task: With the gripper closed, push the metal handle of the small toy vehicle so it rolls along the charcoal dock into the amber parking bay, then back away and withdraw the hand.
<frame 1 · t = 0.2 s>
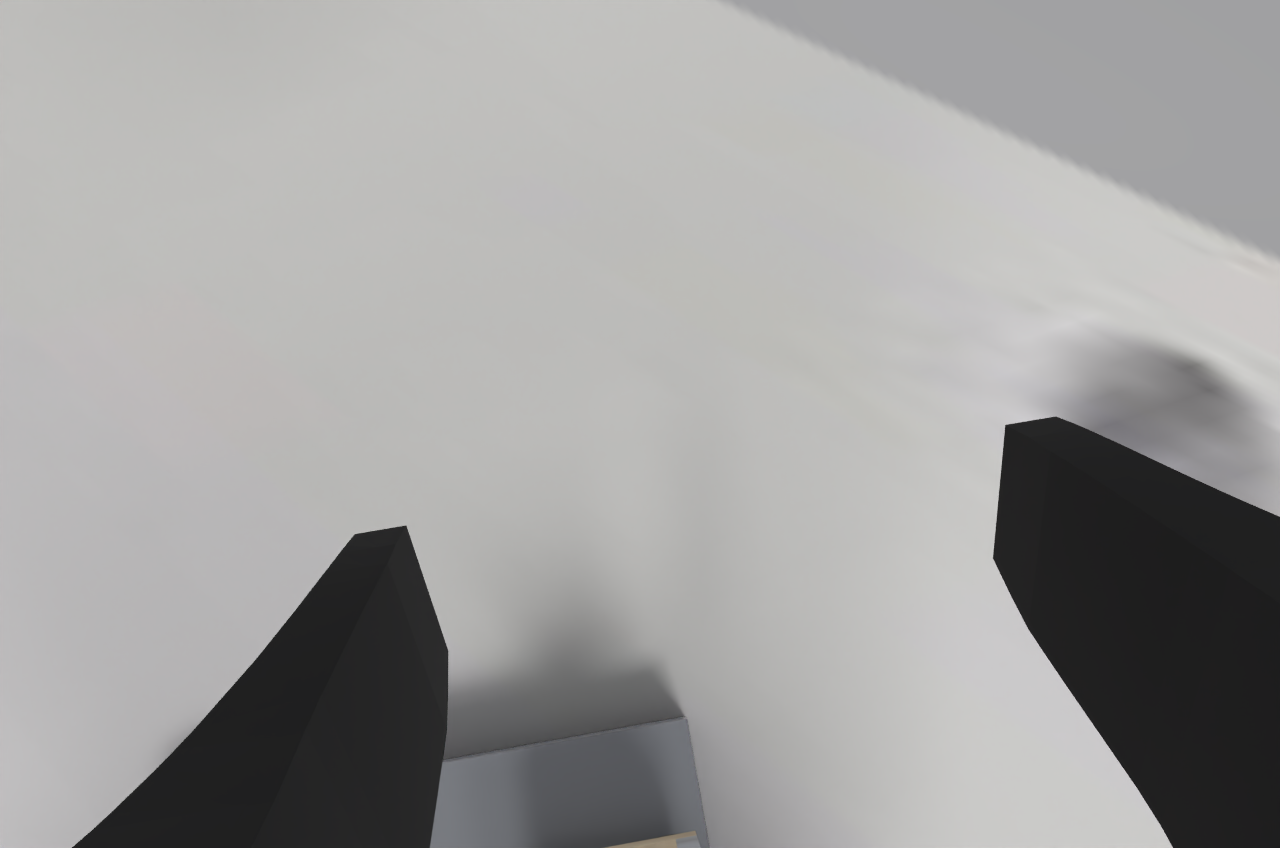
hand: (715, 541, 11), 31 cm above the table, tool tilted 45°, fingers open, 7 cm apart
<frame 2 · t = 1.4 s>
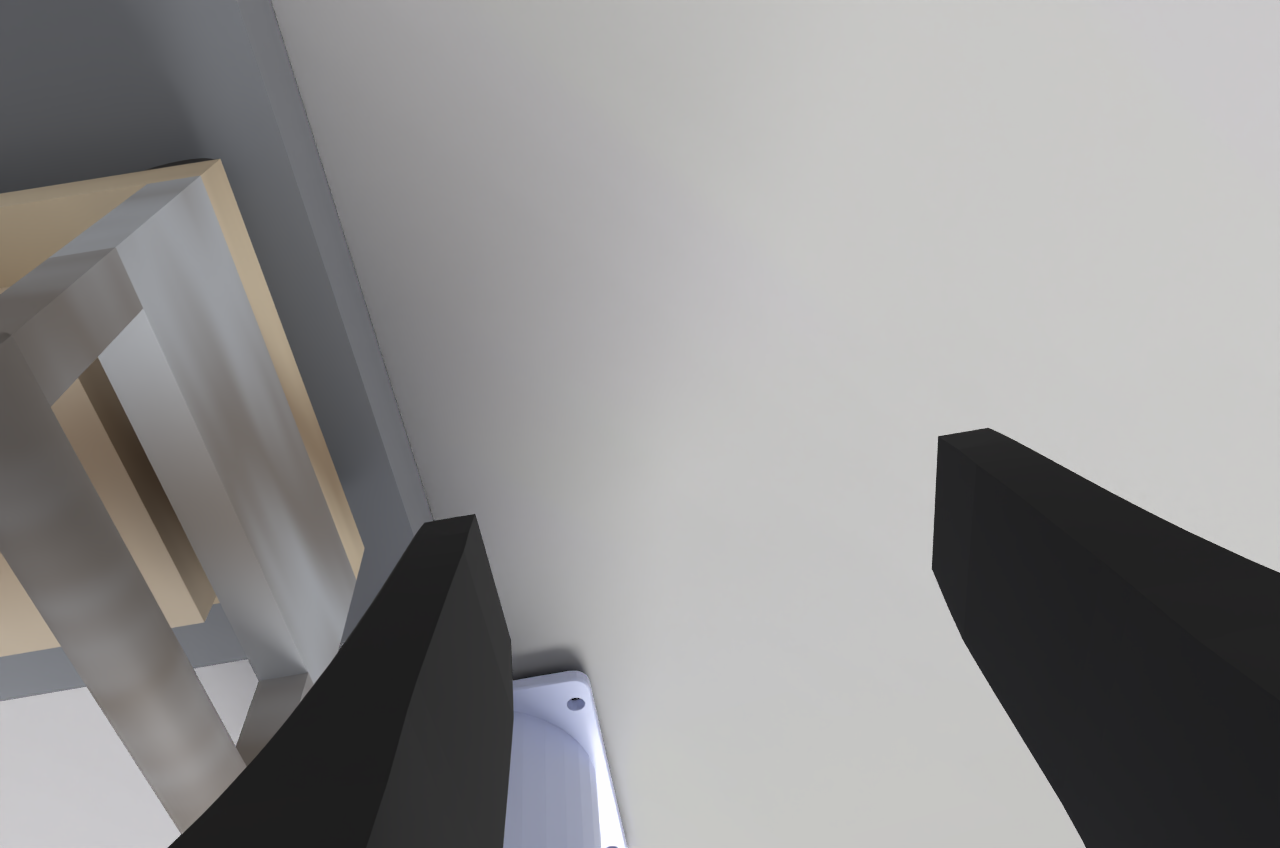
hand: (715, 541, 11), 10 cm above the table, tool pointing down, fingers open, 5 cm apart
toy vehicle: (32, 507, 14), point 7 cm above the table, slide at 0.0 cm
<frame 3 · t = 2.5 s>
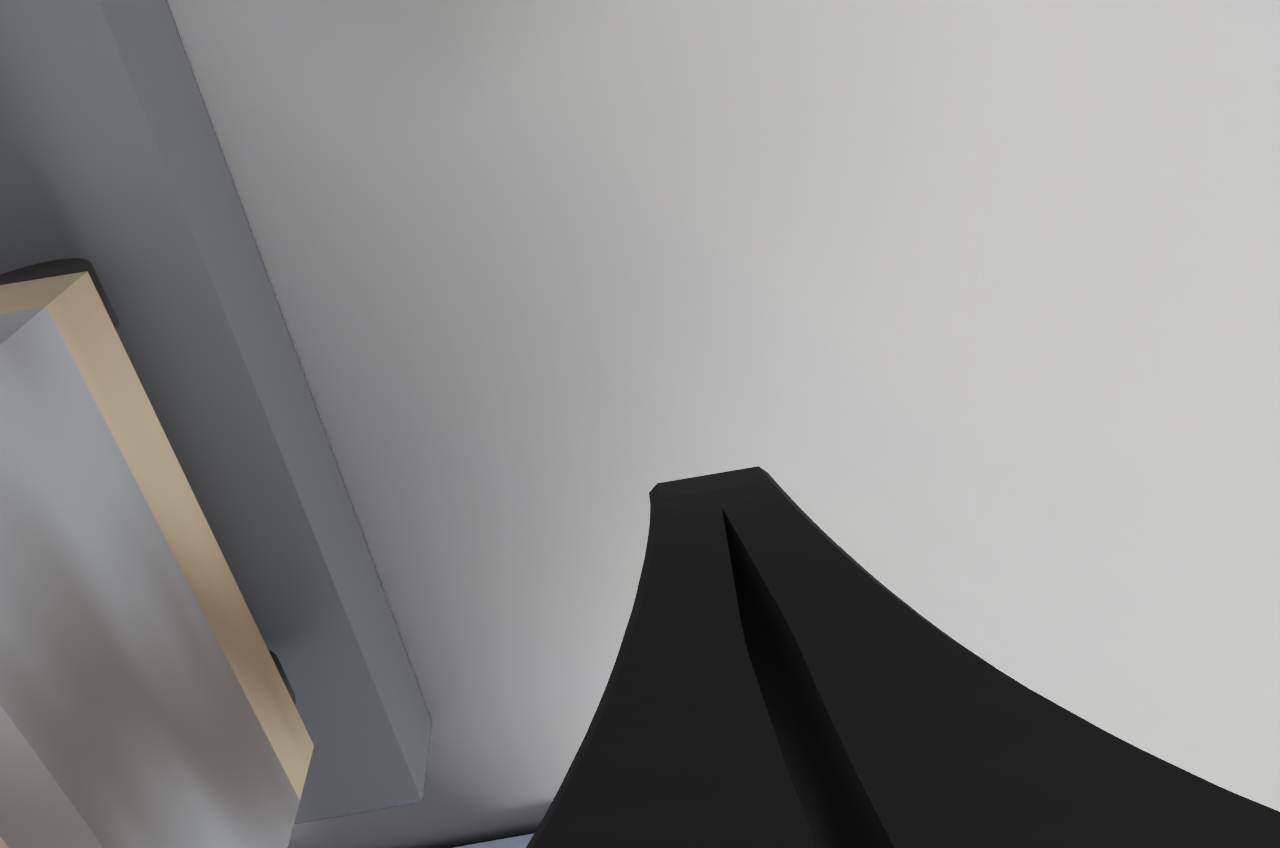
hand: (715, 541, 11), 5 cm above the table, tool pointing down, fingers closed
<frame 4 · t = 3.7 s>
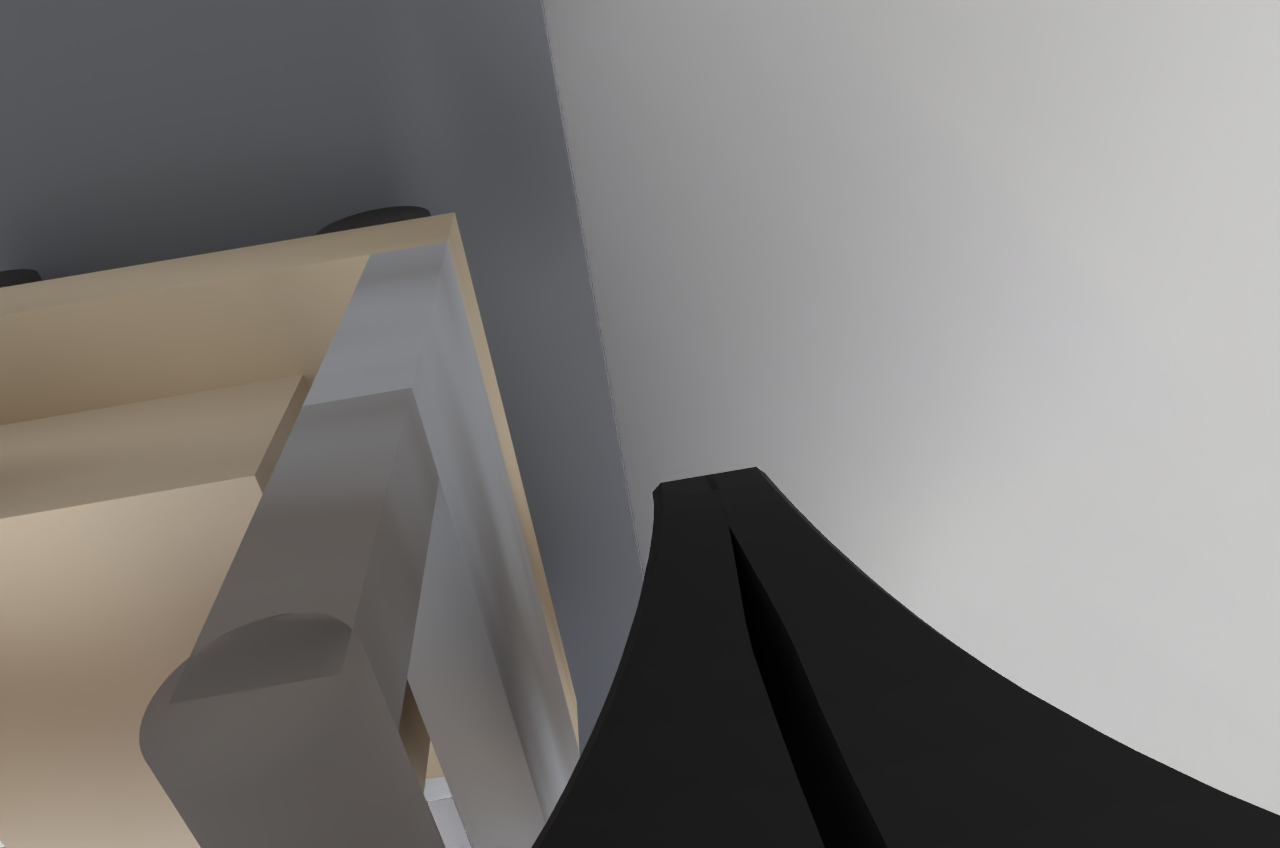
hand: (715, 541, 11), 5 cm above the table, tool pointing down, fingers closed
toy vehicle: (202, 719, 10), point 7 cm above the table, slide at 0.9 cm, touching gripper
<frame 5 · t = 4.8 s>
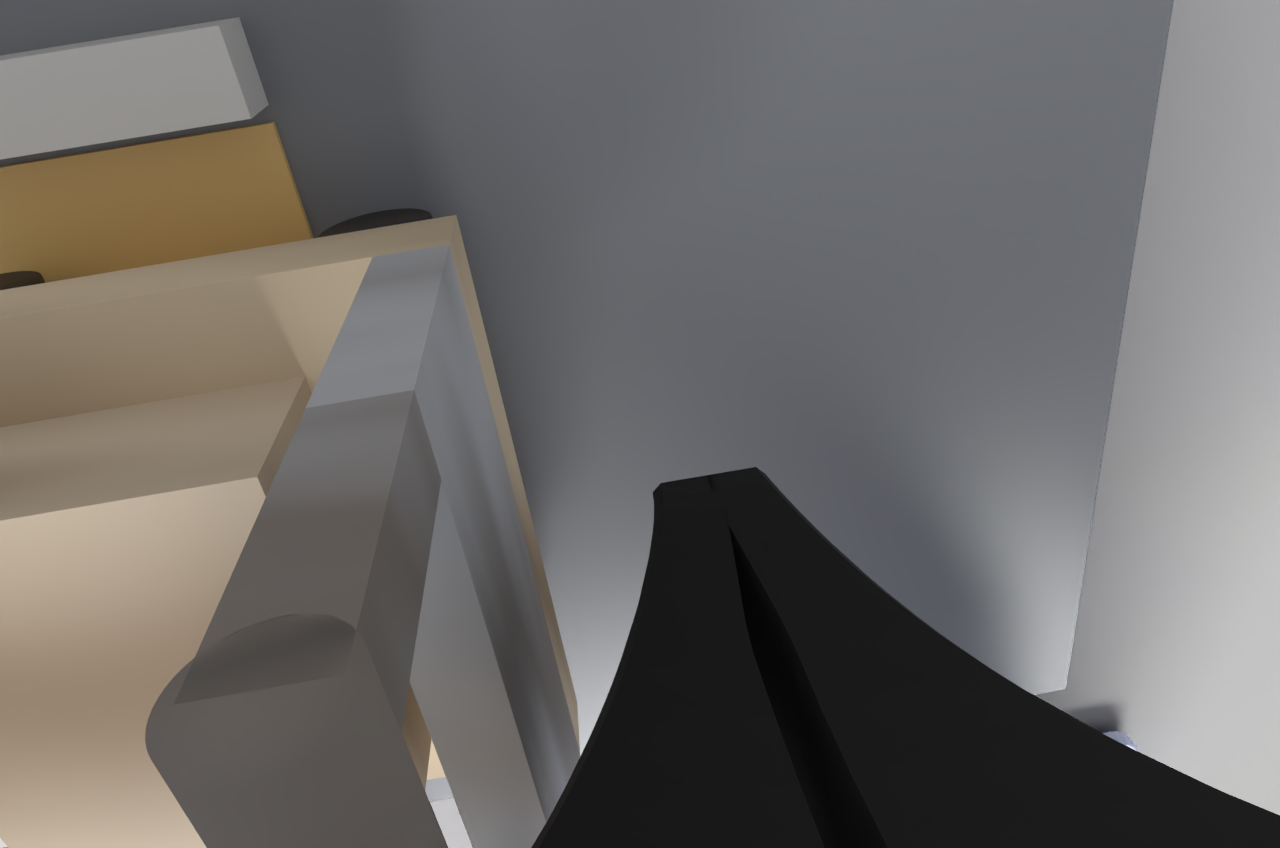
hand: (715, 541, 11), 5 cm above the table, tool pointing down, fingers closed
toy vehicle: (204, 719, 10), point 7 cm above the table, slide at 8.8 cm, touching gripper
dock: (432, 388, 15), on the table
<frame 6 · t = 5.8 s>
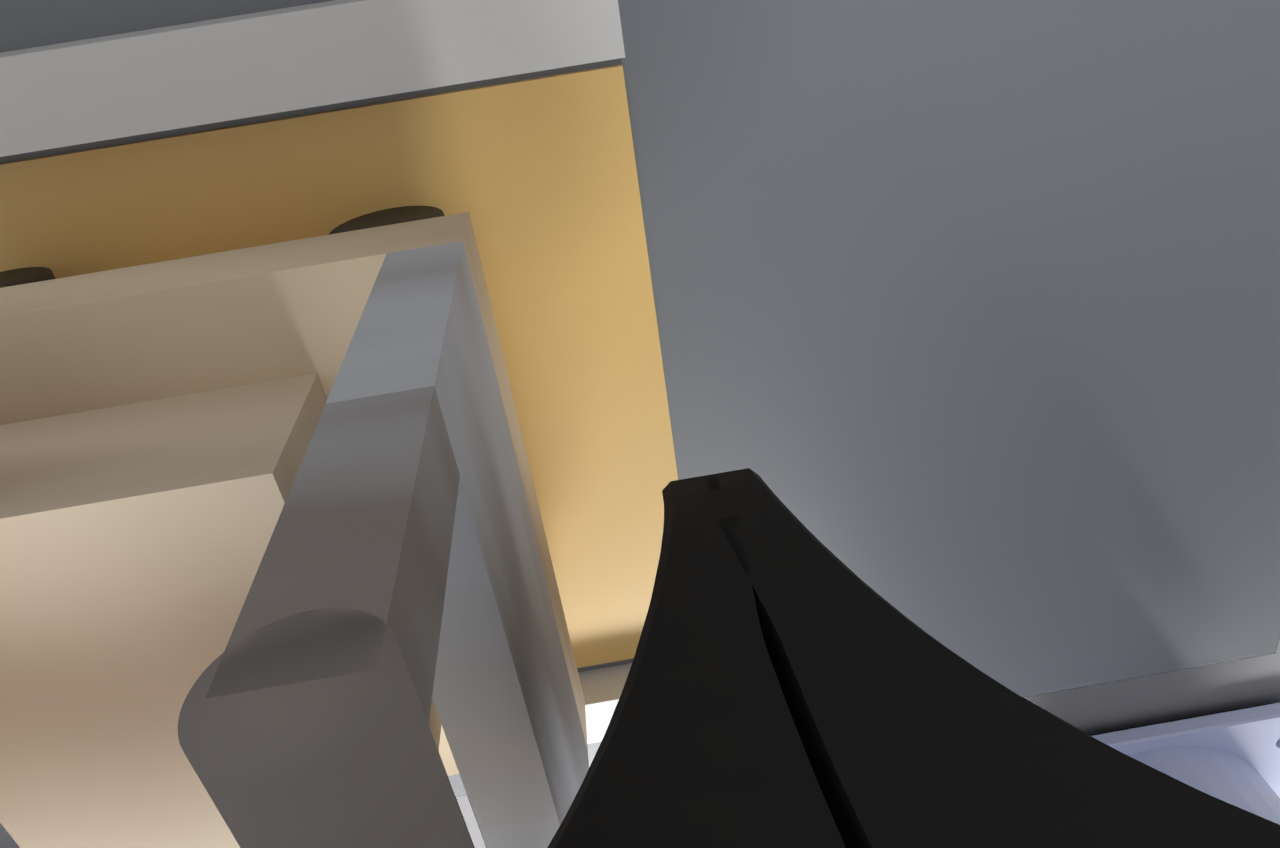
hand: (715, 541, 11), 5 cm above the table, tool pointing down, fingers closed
toy vehicle: (215, 716, 10), point 7 cm above the table, slide at 13.0 cm, touching gripper
dock: (681, 346, 16), on the table
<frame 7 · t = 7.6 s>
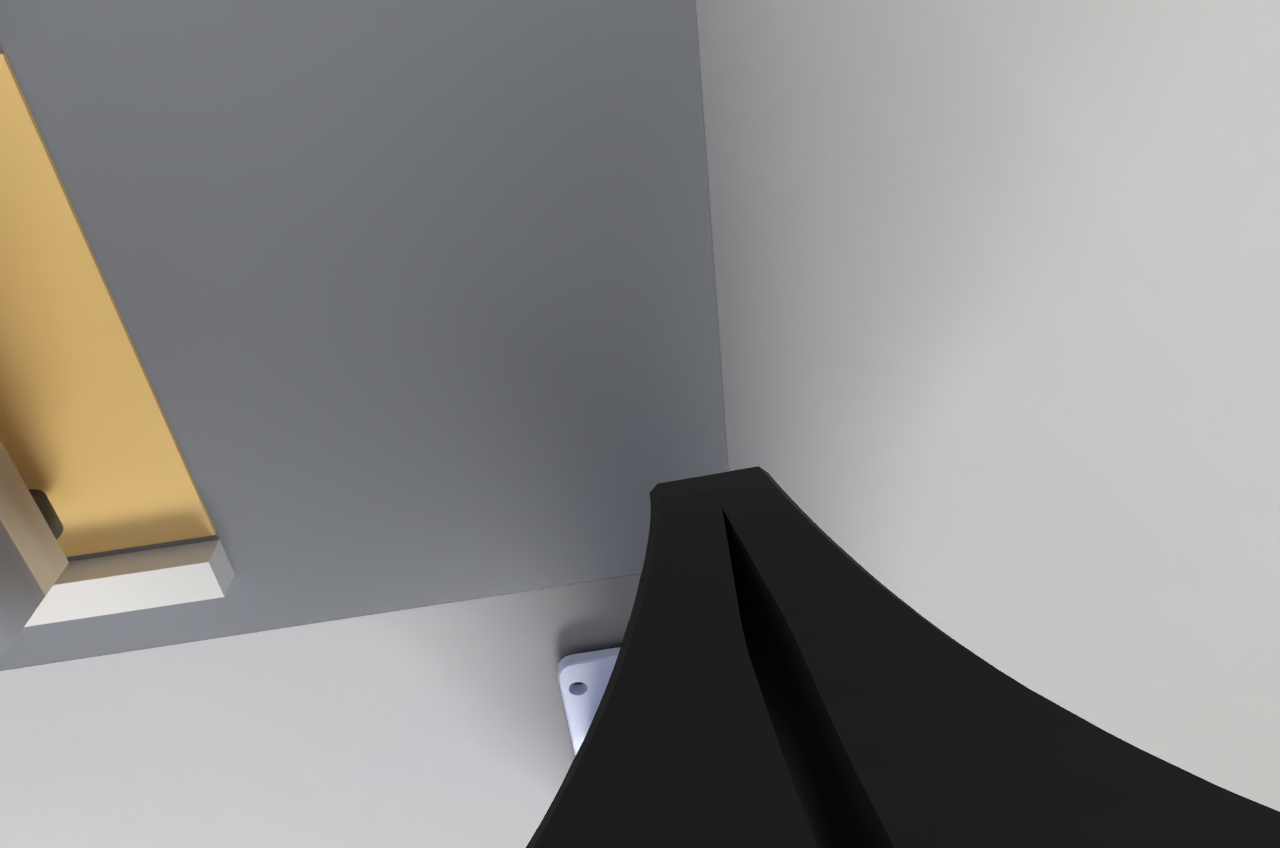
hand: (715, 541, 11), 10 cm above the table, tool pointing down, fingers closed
dock: (186, 285, 19), on the table
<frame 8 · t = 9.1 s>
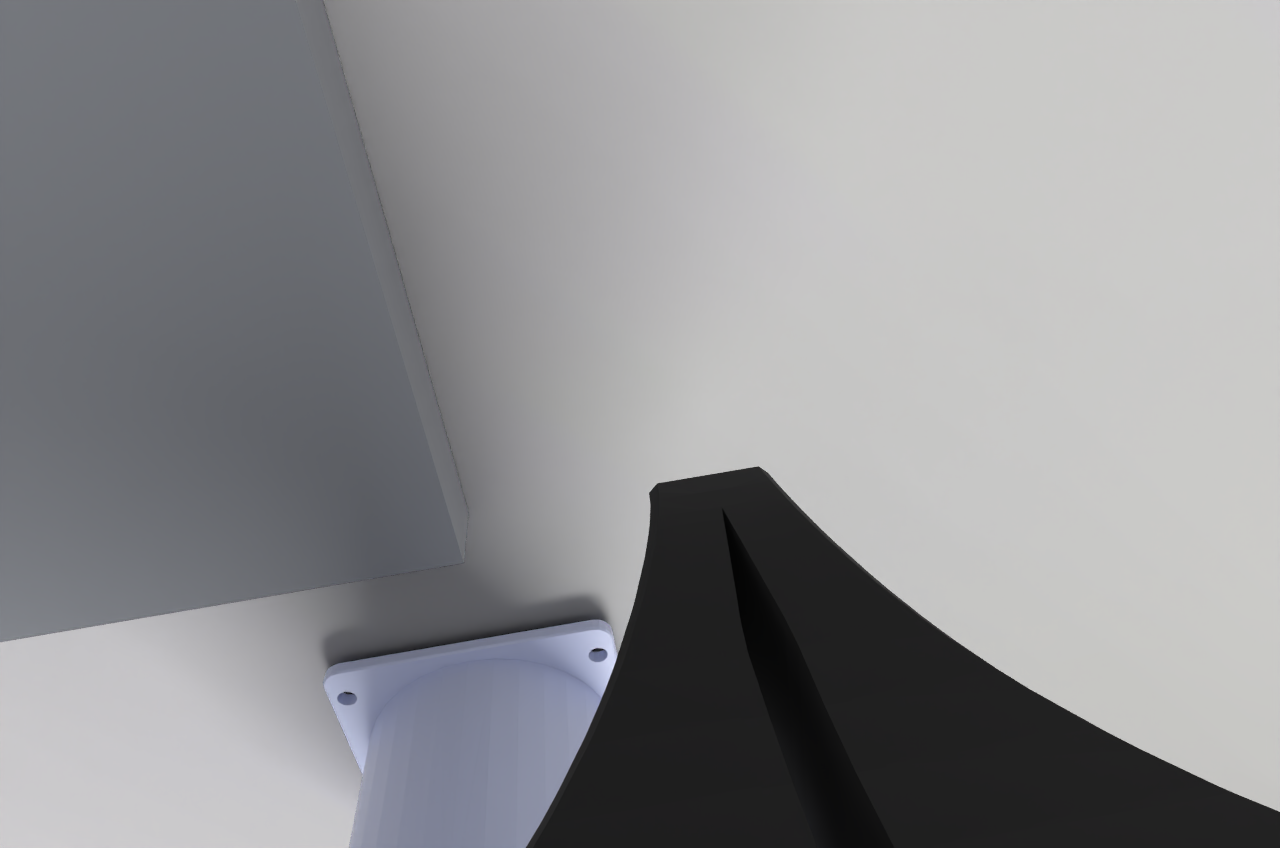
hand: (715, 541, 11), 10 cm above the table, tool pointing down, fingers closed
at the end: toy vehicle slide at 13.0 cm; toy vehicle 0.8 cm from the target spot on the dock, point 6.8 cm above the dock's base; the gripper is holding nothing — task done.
